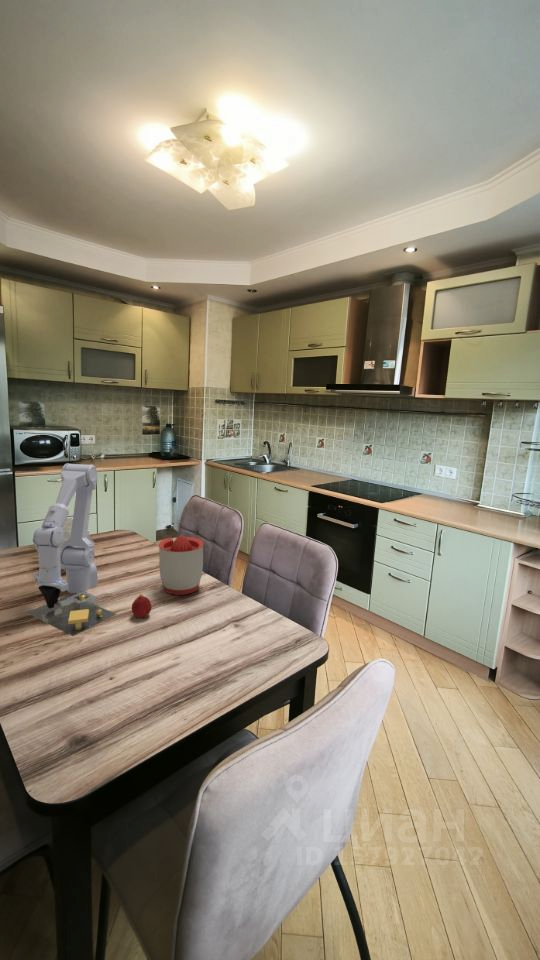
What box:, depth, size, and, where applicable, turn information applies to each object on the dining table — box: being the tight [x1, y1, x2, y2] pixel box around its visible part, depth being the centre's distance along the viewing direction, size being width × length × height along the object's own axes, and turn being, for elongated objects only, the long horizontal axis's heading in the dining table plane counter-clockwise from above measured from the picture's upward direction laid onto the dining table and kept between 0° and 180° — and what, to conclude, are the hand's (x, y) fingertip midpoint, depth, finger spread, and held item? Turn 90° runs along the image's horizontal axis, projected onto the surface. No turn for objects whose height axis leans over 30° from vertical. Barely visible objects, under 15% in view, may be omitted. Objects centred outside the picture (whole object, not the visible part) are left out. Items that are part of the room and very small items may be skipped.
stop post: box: [96, 609, 102, 618], centre depth 125 cm, size 2×2×2 cm
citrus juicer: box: [157, 534, 205, 596], centre depth 147 cm, size 16×17×20 cm
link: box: [41, 591, 98, 625], centre depth 127 cm, size 15×6×4 cm, turn 150°
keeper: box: [68, 609, 89, 630], centre depth 120 cm, size 6×5×3 cm
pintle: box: [79, 594, 86, 601], centre depth 131 cm, size 2×2×4 cm
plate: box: [26, 594, 117, 637], centre depth 127 cm, size 15×23×1 cm, turn 60°
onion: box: [131, 593, 153, 619], centre depth 126 cm, size 6×6×8 cm
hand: (52, 606), depth 128 cm, fingers closed
